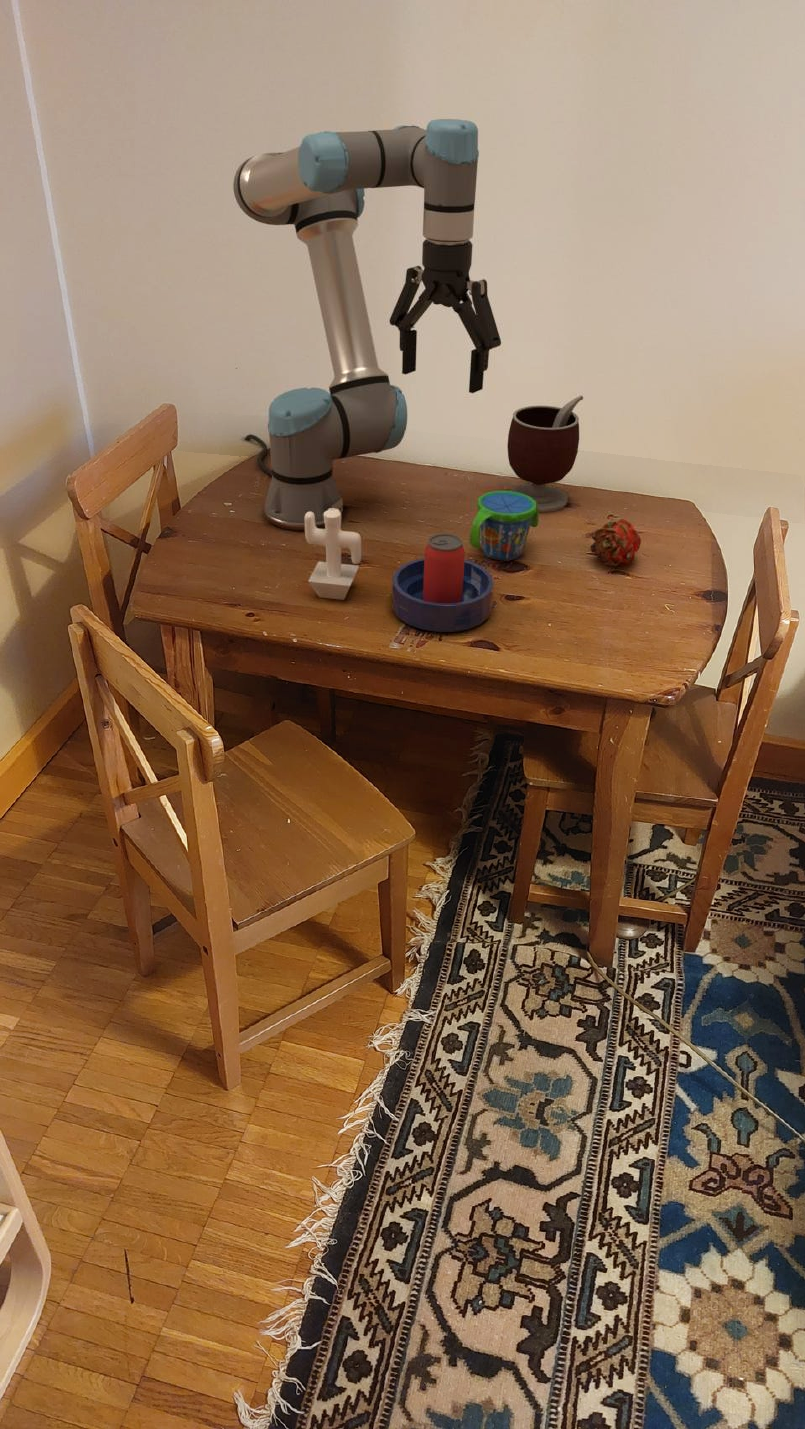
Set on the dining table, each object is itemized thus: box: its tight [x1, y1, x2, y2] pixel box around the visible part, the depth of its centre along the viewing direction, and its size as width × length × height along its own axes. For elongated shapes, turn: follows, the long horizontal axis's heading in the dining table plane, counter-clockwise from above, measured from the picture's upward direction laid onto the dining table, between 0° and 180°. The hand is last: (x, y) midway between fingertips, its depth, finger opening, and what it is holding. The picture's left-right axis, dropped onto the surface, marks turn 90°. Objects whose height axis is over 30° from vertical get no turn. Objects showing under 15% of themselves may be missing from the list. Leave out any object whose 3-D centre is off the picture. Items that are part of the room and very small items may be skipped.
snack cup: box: [468, 490, 540, 562], centre depth 183 cm, size 16×10×10 cm
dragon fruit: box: [589, 518, 642, 567], centre depth 183 cm, size 8×8×12 cm
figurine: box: [304, 508, 362, 601], centre depth 169 cm, size 7×9×15 cm
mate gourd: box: [507, 395, 584, 513], centre depth 200 cm, size 16×14×20 cm
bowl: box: [391, 557, 495, 633], centre depth 168 cm, size 17×17×6 cm
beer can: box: [423, 533, 466, 603], centre depth 166 cm, size 7×7×12 cm
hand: (441, 381), depth 164 cm, fingers open, 13 cm apart
